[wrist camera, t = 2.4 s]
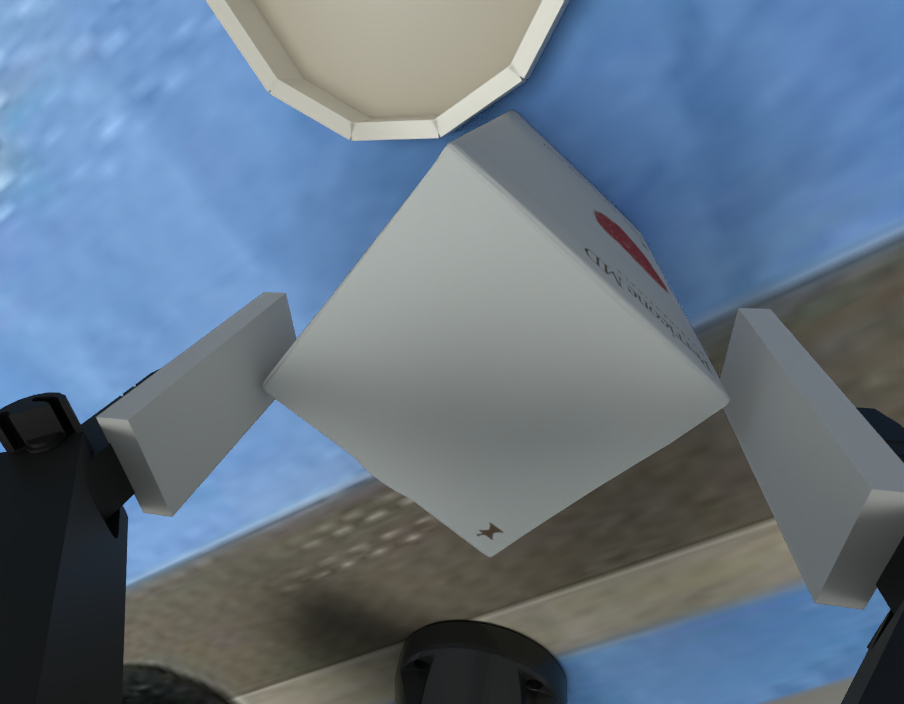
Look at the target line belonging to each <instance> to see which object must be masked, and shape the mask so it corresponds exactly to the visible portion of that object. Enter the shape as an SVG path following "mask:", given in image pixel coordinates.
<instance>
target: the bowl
mask: <svg viewBox="0 0 904 704" xmlns="http://www.w3.org/2000/svg"><path fill="white" fill-rule="evenodd" d="M569 1H570V0H206V2H207V3H208V5H209V6H210V8H211V9H212V11H213V12H214V13H215V15H216V16H217V18H218V19H219V21H220V22H221V24H222V25H223V27H224V28H225V30H226V31H227V33H228V34H229V36H230V37H231V38H232V40H233V41H234V43H235V44H236V46H237V47H238V49H239V50H240V52H241V53H242V55H243V56H244V58H245V59H246V61H247V62H248V63H249V65H250V66H251V68H252V69H253V71H254V72H255V74H256V75H257V77H258V78H259V80H260V81H261V83H262V84H263V86H264V87H265V88H266V90H267V91H268V92H270V94H271V95H273V96H274V97H276V98H278V99H280V100H281V101H283V102H285V103H286V104H288V105H290V106H292V107H293V108H295V109H297V110H299V111H300V112H302V113H304V114H305V115H307V116H309V117H311V118H312V119H314V120H316V121H317V122H319V123H321V124H323V125H324V126H326V127H328V128H330V129H331V130H333V131H335V132H336V133H338V134H340V135H342V136H343V137H345V138H347V139H348V140H352V141H362V140H394V139H427V138H440V137H443V136H445V135H447V134H449V133H451V132H453V131H455V130H457V129H458V128H460V127H461V126H462V125H464V124H465V123H467V122H468V121H470V120H471V119H473V118H474V117H475V116H477V115H478V114H480V113H481V112H483V111H484V110H486V109H487V108H488V107H490V106H491V105H493V104H494V103H496V102H497V101H499V100H500V99H501V98H503V97H504V96H506V95H507V94H509V93H510V92H512V91H513V90H514V89H516V88H517V87H519V86H520V85H522V84H523V83H525V82H526V81H527V80H526V79H529V77H530V75H531V74H532V72H533V70H534V68H535V66H536V64H537V62H538V60H539V58H540V56H541V54H542V53H543V51H544V49H545V47H546V45H547V43H548V41H549V39H550V37H551V35H552V33H553V31H554V30H555V28H556V26H557V24H558V22H559V20H560V18H561V16H562V14H563V12H564V10H565V8H566V7H567V5H568V3H569Z"/></svg>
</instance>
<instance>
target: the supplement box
mask: <svg viewBox="0 0 904 704" xmlns="http://www.w3.org/2000/svg"><path fill="white" fill-rule="evenodd" d="M262 387H263V389H264V390H265V391H266V392H267V393H268V394H269V395H271V396H272V397H273V398H275V399H276V400H277V401H279V402H280V403H282V404H283V405H284V406H286V407H287V408H288V409H290V410H291V411H293V412H294V413H295V414H297V415H298V416H299V417H301V418H302V419H303V420H305V421H306V422H307V423H309V424H310V425H311V426H313V427H314V428H316V429H317V430H318V431H320V432H321V433H322V434H324V435H325V436H326V437H328V438H329V439H330V440H332V441H333V442H334V443H336V444H337V445H338V446H340V447H341V448H343V449H344V450H345V451H347V452H348V453H349V454H351V455H352V456H353V457H354V458H355V459H356V460H357V461H358V462H359V463H360V464H361V465H362V466H363V467H364V468H365V469H366V470H367V471H368V472H369V473H370V474H371V475H373V476H374V477H375V478H377V479H378V480H379V481H381V482H382V483H383V484H385V485H387V486H388V487H390V488H391V489H393V490H395V491H396V492H398V493H400V494H402V495H404V496H406V497H408V498H410V499H411V500H413V501H414V502H415V503H417V504H418V505H419V506H421V507H422V508H423V509H425V510H426V511H427V512H429V513H430V514H431V515H433V516H434V517H435V518H437V519H438V520H439V521H441V522H442V523H443V524H445V525H446V526H447V527H449V528H450V529H451V530H452V531H454V532H455V533H456V534H458V535H459V536H460V537H462V538H463V539H464V540H466V541H467V542H468V543H470V544H471V545H472V546H474V547H475V548H476V549H478V550H479V551H480V552H482V553H483V554H485V555H486V556H488V557H492V556H493V555H495V554H497V553H498V552H500V551H501V550H503V549H504V548H506V547H507V546H509V545H510V544H511V543H513V542H514V541H516V540H517V539H519V538H520V537H522V536H523V535H525V534H526V533H528V532H529V531H531V530H533V529H534V528H536V527H537V526H539V525H540V524H542V523H543V522H545V521H546V520H548V519H549V518H551V517H552V516H554V515H556V514H557V513H559V512H560V511H562V510H563V509H565V508H566V507H568V506H569V505H571V504H573V503H574V502H576V501H577V500H579V499H580V498H582V497H584V496H585V495H587V494H588V493H590V492H591V491H593V490H595V489H596V488H598V487H599V486H601V485H603V484H604V483H606V482H607V481H609V480H611V479H613V478H614V477H616V476H617V475H619V474H621V473H622V472H624V471H625V470H627V469H629V468H630V467H632V466H634V465H635V464H637V463H639V462H640V461H642V460H643V459H645V458H647V457H648V456H650V455H652V454H653V453H655V452H657V451H658V450H660V449H662V448H663V447H665V446H667V445H668V444H670V443H671V442H673V441H674V440H676V439H677V438H679V437H680V436H682V435H683V434H685V433H686V432H688V431H689V430H691V429H692V428H694V427H695V426H697V425H698V424H700V423H701V422H703V421H704V420H705V419H707V418H708V417H710V416H711V415H713V414H714V413H716V412H717V411H719V410H720V409H722V408H723V407H725V406H726V405H727V404H728V403H729V400H730V398H729V396H728V394H727V393H726V391H725V389H724V387H723V385H722V383H721V381H720V379H719V377H718V375H717V373H716V371H715V369H714V367H713V366H712V364H711V362H710V360H709V358H708V356H707V354H706V353H705V351H704V349H703V347H702V345H701V343H700V341H699V340H698V338H697V336H696V334H695V332H694V330H693V329H692V327H691V325H690V323H689V321H688V320H687V318H686V316H685V314H684V313H683V311H682V309H681V307H680V305H679V303H678V301H677V299H676V298H675V296H674V294H673V292H672V291H671V289H670V287H669V285H668V283H667V281H666V279H665V278H664V276H663V274H662V272H661V270H660V268H659V266H658V265H657V263H656V261H655V259H654V257H653V255H652V253H651V252H650V250H649V248H648V246H647V244H646V242H645V240H644V238H643V236H642V234H641V233H640V232H639V231H638V230H637V228H636V227H635V226H634V225H633V224H632V223H631V222H630V221H629V220H628V219H627V218H626V217H625V216H624V215H623V214H622V213H621V212H620V211H618V210H617V209H616V208H615V207H614V206H613V205H612V204H611V203H610V202H609V201H608V200H607V199H606V198H605V197H604V196H603V195H602V194H601V193H600V192H599V191H598V190H597V189H596V188H595V187H594V186H593V185H592V184H591V183H590V182H589V181H588V180H587V179H586V178H585V177H583V176H582V175H581V174H580V173H579V172H578V171H577V170H576V169H575V168H574V167H573V166H572V165H571V164H570V163H569V162H568V161H567V160H566V159H565V158H564V157H563V156H562V155H561V154H560V153H559V152H558V151H557V150H556V149H555V148H554V147H552V146H551V145H550V144H549V143H548V142H547V141H546V140H545V139H544V138H543V137H542V136H541V135H540V134H539V133H538V132H537V131H536V130H535V129H534V128H533V127H532V126H531V125H529V124H528V123H527V122H526V121H525V120H524V119H523V118H522V117H521V116H520V115H519V114H518V113H517V112H515V111H514V110H510V111H508V112H506V113H504V114H503V115H501V116H499V117H497V118H495V119H493V120H491V121H489V122H487V123H486V124H484V125H482V126H480V127H478V128H476V129H474V130H472V131H470V132H468V133H466V134H464V135H463V136H461V137H459V138H457V139H455V140H453V141H452V142H450V143H448V144H447V146H446V147H445V148H444V149H443V151H442V153H441V154H440V156H439V157H438V159H437V160H436V162H435V163H434V164H433V166H432V167H431V169H430V170H429V171H428V173H427V174H426V175H425V176H424V178H423V179H422V180H421V182H420V183H419V184H418V185H417V187H416V188H415V189H414V191H413V192H412V193H411V194H410V196H409V197H408V198H407V200H406V201H405V202H404V203H403V205H402V206H401V207H400V209H399V210H398V211H397V212H396V214H395V215H394V216H393V217H392V219H391V220H390V221H389V223H388V224H387V225H386V226H385V228H384V229H383V230H382V231H381V233H380V234H379V235H378V237H377V238H376V239H375V240H374V242H373V243H372V244H371V246H370V247H369V248H368V249H367V251H366V252H365V253H364V254H363V256H362V257H361V258H360V260H359V261H358V262H357V263H356V265H355V266H354V267H353V269H352V270H351V271H350V272H349V274H348V275H347V276H346V278H345V279H344V280H343V281H342V283H341V284H340V285H339V286H338V288H337V289H336V290H335V292H334V293H333V294H332V295H331V297H330V298H329V299H328V301H327V302H326V303H325V304H324V306H323V307H322V308H321V309H320V311H319V312H318V313H317V314H316V316H315V317H314V318H313V319H312V321H311V322H310V323H309V324H308V325H307V327H306V328H305V329H304V330H303V332H302V333H301V334H300V335H299V337H298V338H297V339H296V341H295V342H294V343H293V344H292V346H291V347H290V348H289V349H288V351H287V352H286V353H285V355H284V356H283V357H282V358H281V360H280V361H279V362H278V364H277V365H276V366H275V367H274V369H273V370H272V371H271V372H270V374H269V375H268V376H267V378H266V379H265V381H264V382H263V385H262Z"/></svg>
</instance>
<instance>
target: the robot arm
mask: <svg viewBox="0 0 904 704" xmlns="http://www.w3.org/2000/svg"><path fill="white" fill-rule="evenodd" d="M295 341H296V335H295V331H294V326H293V322H292V318H291V313H290V309H289V305H288V300H287V296H286V293H272V292H264V293H262V294H261V295H259V296H258V297H257V298H255V299H254V300H253V301H251V302H250V303H249V304H247V305H246V306H245V307H243V308H242V309H241V310H239V311H238V312H237V313H235V314H234V315H233V316H231V317H230V318H229V319H227V320H226V321H224V322H223V323H222V324H220V325H219V326H218V327H216V328H215V329H214V330H212V331H211V332H210V333H208V334H207V335H206V336H204V337H203V338H202V339H200V340H199V341H198V342H196V343H195V344H194V345H192V346H191V347H189V348H188V349H187V350H185V351H184V352H183V353H181V354H180V355H179V356H177V357H176V358H175V359H173V360H172V361H171V362H169V363H168V364H167V365H165V366H164V367H163V368H161V369H159V370H157V371H155V372H152V373H151V374H149V375H148V376H146V377H145V378H144V379H142V380H141V381H140V382H138V383H137V384H136V387H132V388H130V389H129V390H127V391H126V392H125V393H123V396H119V397H118V398H117V399H115V400H114V401H113V402H111V403H110V404H108V405H107V406H106V407H104V408H103V409H102V410H100V411H99V412H98V413H96V414H95V415H93V416H92V417H91V418H89V419H88V420H87V421H85V422H84V423H83V424H80V423H79V421H78V419H77V417H76V415H75V413H74V411H73V409H72V407H71V405H70V403H69V401H68V400H67V398H66V396H65V395H63V394H61V393H43V394H37V395H33V396H30V397H26V398H23V399H20V400H18V401H16V402H13V403H11V404H9V405H7V406H5V407H3V408H2V409H0V442H1V443H2V445H3V447H4V448H5V450H6V451H7V452H2V453H0V704H122V683H123V653H124V623H125V593H126V563H127V533H128V516H127V513H126V511H125V509H124V507H123V504H124V503H125V502H126V501H127V500H128V499H129V498H130V497H131V496H132V495H133V494H134V495H135V497H136V499H137V501H138V503H139V505H140V507H141V509H142V511H143V513H148V514H156V515H163V516H171V517H173V515H174V514H175V513H176V512H177V511H178V510H179V509H180V507H181V506H182V505H183V504H184V503H185V502H186V501H187V499H188V498H189V497H190V496H191V495H192V494H193V493H194V491H195V490H196V489H197V488H198V487H199V486H200V485H201V483H202V482H203V481H204V480H205V479H206V478H207V477H208V475H209V474H210V473H211V472H212V471H213V470H214V469H215V467H216V466H217V465H218V464H219V463H220V462H221V461H222V459H223V458H224V457H225V456H226V455H227V454H228V453H229V451H230V450H231V449H232V448H233V447H234V446H235V445H236V443H237V442H238V441H239V440H240V439H241V438H242V437H243V435H244V434H245V433H246V432H247V431H248V430H249V429H250V427H251V426H252V425H253V424H254V423H255V422H256V421H257V419H258V418H259V417H260V416H261V415H262V414H263V413H264V411H265V410H266V409H267V408H268V407H269V406H270V405H271V403H272V402H273V401H274V400H275V398H273V397H272V396H271V395H269V394H268V393H267V392H266V391H265V390H264V389H263V387H262V385H263V382H264V381H265V379H266V378H267V376H268V375H269V374H270V372H271V371H272V370H273V369H274V367H275V366H276V365H277V364H278V362H279V361H280V360H281V358H282V357H283V356H284V355H285V353H286V352H287V351H288V349H289V348H290V347H291V346H292V344H293V343H294V342H295ZM720 381H721V383H722V385H723V387H724V389H725V391H726V393H727V394H728V396H729V398H730V400H729V403H728V404H727V405H726V406H725V407H723V410H724V412H725V414H726V416H727V418H728V420H729V422H730V424H731V427H732V429H733V431H734V433H735V435H736V437H737V439H738V441H739V444H740V446H741V448H742V450H743V452H744V454H745V456H746V458H747V461H748V463H749V465H750V467H751V469H752V471H753V473H754V475H755V477H756V480H757V482H758V484H759V486H760V488H761V490H762V492H763V494H764V497H765V499H766V501H767V503H768V505H769V507H770V509H771V511H772V513H773V516H774V518H775V520H776V522H777V524H778V526H779V528H780V530H781V533H782V535H783V537H784V539H785V541H786V543H787V545H788V547H789V549H790V552H791V554H792V556H793V558H794V560H795V562H796V564H797V566H798V569H799V571H800V573H801V575H802V577H803V579H804V581H805V583H806V586H807V588H808V590H809V592H810V594H811V596H812V598H813V600H814V602H815V603H818V604H825V605H833V606H840V607H847V608H855V609H862V610H864V609H865V607H866V605H867V603H868V602H869V600H870V598H871V597H872V595H873V593H874V592H875V590H876V588H878V589H879V591H880V593H881V594H882V596H883V597H884V599H885V601H886V602H887V604H888V606H889V607H890V611H889V613H888V614H887V616H886V617H885V619H884V621H883V622H882V624H881V625H880V627H879V628H878V630H877V632H876V633H875V635H874V636H873V638H872V640H871V641H870V643H869V644H868V646H867V648H868V649H869V650H868V652H867V654H866V656H865V658H864V660H863V662H862V663H861V665H860V667H859V669H858V671H857V673H856V675H855V677H854V679H853V681H852V683H851V685H850V687H849V689H848V691H847V693H846V695H845V697H844V699H843V701H842V703H841V704H904V428H903V427H902V426H901V425H900V424H898V423H897V422H895V421H893V420H892V419H890V418H889V417H887V416H885V415H884V414H882V413H881V412H879V411H877V410H876V409H871V408H856V407H855V406H854V405H853V404H852V403H851V402H850V401H849V399H848V398H847V397H846V396H845V395H844V394H843V392H842V391H841V390H840V389H839V388H838V387H837V386H836V384H835V383H834V382H833V381H832V380H831V379H830V377H829V376H828V375H827V374H826V373H825V372H824V371H823V369H822V368H821V367H820V366H819V365H818V364H817V362H816V361H815V360H814V359H813V358H812V357H811V356H810V354H809V353H808V352H807V351H806V350H805V349H804V347H803V346H802V345H801V344H800V343H799V342H798V340H797V339H796V338H795V337H794V336H793V335H792V334H791V332H790V331H789V330H788V329H787V328H786V327H785V325H784V324H783V323H782V322H781V321H780V320H779V319H778V317H777V316H776V315H775V314H774V313H773V312H772V310H771V309H754V308H738V312H737V315H736V319H735V323H734V327H733V331H732V335H731V339H730V342H729V346H728V350H727V354H726V358H725V362H724V366H723V370H722V373H721V377H720ZM395 704H567V682H566V678H565V675H564V672H563V670H562V669H561V667H560V666H559V664H558V663H557V662H556V660H555V659H554V658H553V657H552V656H551V655H550V654H549V653H547V652H546V651H545V650H544V649H542V648H541V647H540V646H538V645H537V644H535V643H534V642H532V641H530V640H528V639H526V638H525V637H522V636H520V635H518V634H516V633H513V632H511V631H508V630H505V629H502V628H499V627H495V626H491V625H486V624H480V623H473V622H446V623H439V624H435V625H431V626H428V627H425V628H423V629H420V630H419V631H417V632H415V633H414V634H412V635H411V636H410V637H409V638H408V639H407V641H406V642H405V644H404V646H403V648H402V651H401V655H400V659H399V662H398V666H397V670H396V676H395Z"/></svg>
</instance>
